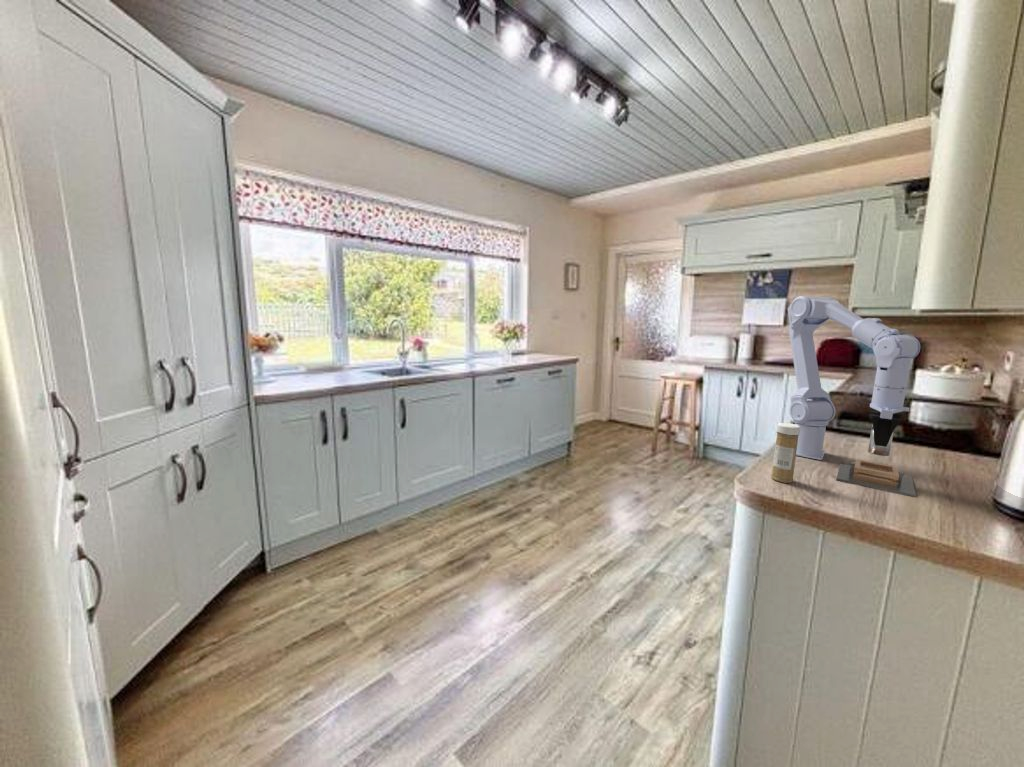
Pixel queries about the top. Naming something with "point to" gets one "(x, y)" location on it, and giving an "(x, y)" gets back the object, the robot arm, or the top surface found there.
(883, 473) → the collar stand
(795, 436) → the sprinkles bottle
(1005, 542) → the top surface
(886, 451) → the metal cylinder
